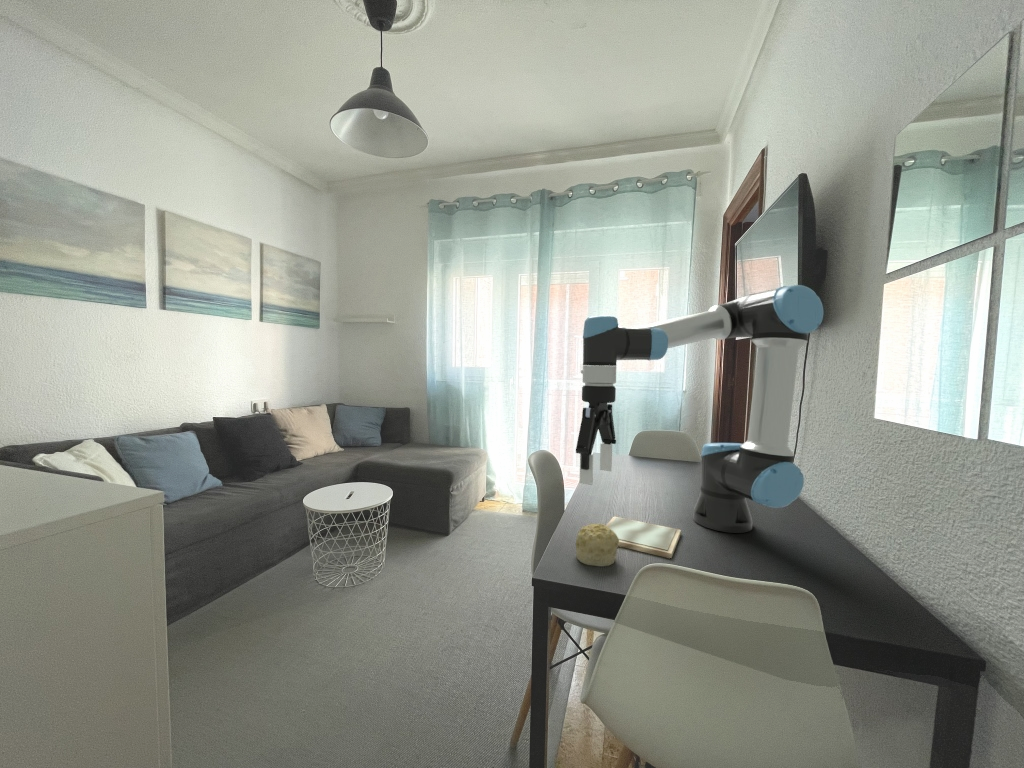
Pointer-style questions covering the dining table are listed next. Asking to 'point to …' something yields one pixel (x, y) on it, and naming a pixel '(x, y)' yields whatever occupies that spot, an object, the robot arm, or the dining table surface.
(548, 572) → the dining table surface
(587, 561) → the decorative item
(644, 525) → the board
